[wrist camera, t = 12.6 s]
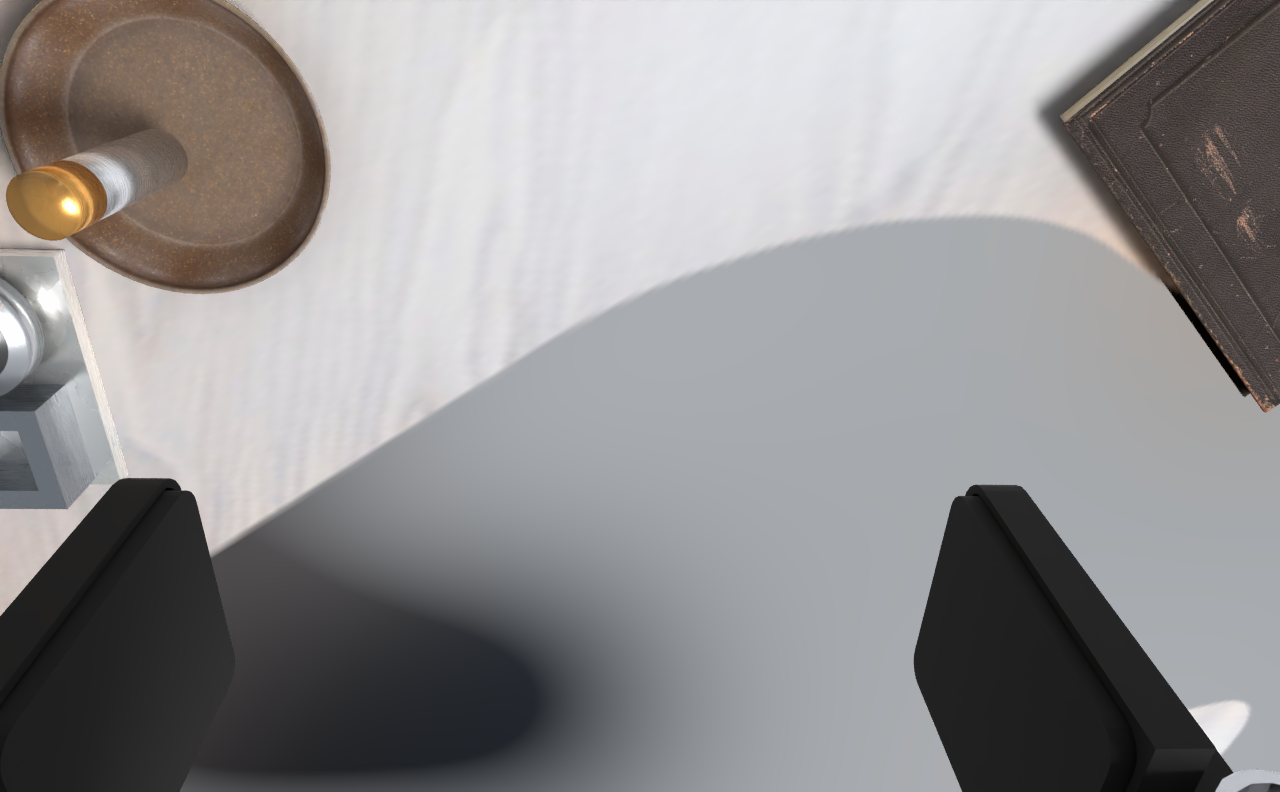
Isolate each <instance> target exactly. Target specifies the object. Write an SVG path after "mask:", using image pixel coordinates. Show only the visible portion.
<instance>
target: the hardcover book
mask: <svg viewBox="0 0 1280 792" xmlns="http://www.w3.org/2000/svg"><path fill="white" fill-rule="evenodd" d="M1060 117H1061V119H1062V120H1063V122H1064V123H1063V124H1064V125H1065V127H1066V128H1067V129H1068V131H1069V132H1070V134H1071V135H1072V137H1073V138H1074V140H1075V141H1076V142H1077V144H1078V145H1079V147H1080V148H1081V150H1082V151H1083V152H1084V154H1085V155H1086V157H1087V158H1088V160H1089V161H1090V163H1091V164H1092V165H1093V167H1094V168H1095V170H1096V171H1097V173H1098V174H1099V176H1100V177H1101V178H1102V180H1103V181H1104V183H1105V184H1106V186H1107V187H1108V189H1109V190H1110V191H1111V193H1112V194H1113V196H1114V197H1115V199H1116V200H1117V202H1118V203H1119V204H1120V206H1121V207H1122V209H1123V210H1124V212H1125V213H1126V214H1127V216H1128V217H1129V219H1130V220H1131V222H1132V223H1133V225H1134V226H1135V227H1136V229H1137V230H1138V232H1139V233H1140V235H1141V236H1142V238H1143V239H1144V240H1145V242H1146V243H1147V245H1148V246H1149V248H1150V249H1151V251H1152V252H1153V253H1154V255H1155V256H1156V258H1157V259H1158V261H1159V262H1160V263H1161V265H1162V266H1163V268H1164V269H1165V271H1166V272H1167V274H1168V275H1169V276H1170V278H1171V279H1172V281H1173V282H1174V284H1175V285H1176V287H1177V288H1178V289H1179V291H1178V290H1176V289H1174V288H1172V287H1170V286H1168V285H1167V284H1164V285H1165V286H1166V288H1167V289H1168V290H1169V292H1170V293H1171V295H1172V296H1173V297H1174V299H1175V300H1176V302H1177V303H1178V304H1179V306H1180V307H1181V309H1182V310H1183V312H1184V313H1185V315H1186V316H1187V317H1188V319H1189V320H1190V322H1191V323H1192V324H1193V326H1194V327H1195V329H1196V330H1197V332H1198V333H1199V335H1200V336H1201V337H1202V339H1203V340H1204V342H1205V343H1206V345H1207V346H1208V347H1209V349H1210V350H1211V351H1212V353H1213V355H1214V356H1215V357H1216V359H1217V360H1218V362H1219V363H1220V365H1221V366H1222V367H1223V369H1224V370H1225V372H1226V373H1227V375H1228V376H1229V377H1230V379H1231V380H1232V382H1233V383H1234V385H1235V386H1236V387H1237V389H1238V390H1239V392H1240V393H1241V394H1242V396H1244V397H1246V396H1247V395H1249V394H1250V393H1251V395H1252V396H1253V398H1254V399H1255V400H1256V402H1257V403H1258V405H1259V406H1260V408H1261V409H1262V410H1263V411H1264V412H1265V413H1266V412H1268V411H1269V410H1271V409H1272V408H1274V407H1275V406H1277V405H1278V404H1280V0H1200V1H1198V2H1197V3H1196V4H1195V5H1194V6H1192V7H1191V8H1190V9H1189V10H1187V11H1186V12H1185V13H1184V14H1183V15H1181V16H1180V17H1179V18H1178V19H1177V20H1175V21H1174V22H1173V23H1172V24H1171V25H1169V26H1168V27H1167V28H1166V29H1164V30H1163V31H1162V32H1161V33H1160V34H1158V35H1157V36H1156V37H1155V38H1154V39H1152V40H1151V41H1150V42H1149V43H1148V44H1146V45H1145V46H1144V47H1143V48H1141V49H1140V50H1139V51H1138V52H1137V53H1135V54H1134V55H1133V56H1132V57H1131V58H1129V59H1128V60H1127V61H1126V62H1124V63H1123V64H1122V65H1121V66H1120V67H1118V68H1117V69H1116V70H1115V71H1114V72H1112V73H1111V74H1110V75H1109V76H1108V77H1106V78H1105V79H1104V80H1103V81H1101V82H1100V83H1099V84H1098V85H1097V86H1095V87H1094V88H1093V89H1092V90H1091V91H1089V92H1088V93H1087V94H1086V95H1085V96H1083V97H1082V98H1081V99H1080V100H1078V101H1077V102H1076V103H1075V104H1074V105H1072V106H1071V107H1070V108H1069V109H1068V110H1066V111H1065V112H1064V113H1063V114H1062V115H1060Z"/></svg>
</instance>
